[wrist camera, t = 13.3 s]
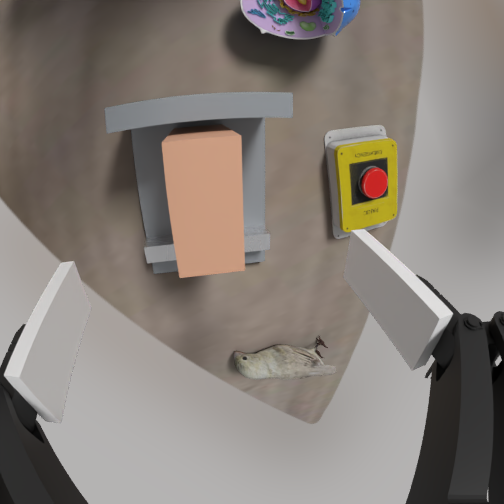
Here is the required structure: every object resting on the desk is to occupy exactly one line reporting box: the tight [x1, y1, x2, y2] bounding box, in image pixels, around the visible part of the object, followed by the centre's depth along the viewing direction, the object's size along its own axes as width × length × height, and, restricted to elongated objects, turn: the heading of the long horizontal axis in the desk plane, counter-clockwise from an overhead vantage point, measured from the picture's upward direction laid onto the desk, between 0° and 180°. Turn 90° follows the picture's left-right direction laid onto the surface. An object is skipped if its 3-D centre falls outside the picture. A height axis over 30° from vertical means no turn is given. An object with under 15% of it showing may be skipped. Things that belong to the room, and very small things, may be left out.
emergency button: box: [324, 125, 398, 239], centre depth 33 cm, size 9×4×15 cm
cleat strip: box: [144, 225, 270, 263], centre depth 32 cm, size 2×14×2 cm, turn 91°
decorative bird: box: [234, 337, 336, 379], centre depth 44 cm, size 5×16×8 cm, turn 84°
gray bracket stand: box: [105, 92, 293, 274], centre depth 27 cm, size 20×14×10 cm
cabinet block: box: [162, 124, 245, 278], centre depth 24 cm, size 11×5×12 cm, turn 1°
